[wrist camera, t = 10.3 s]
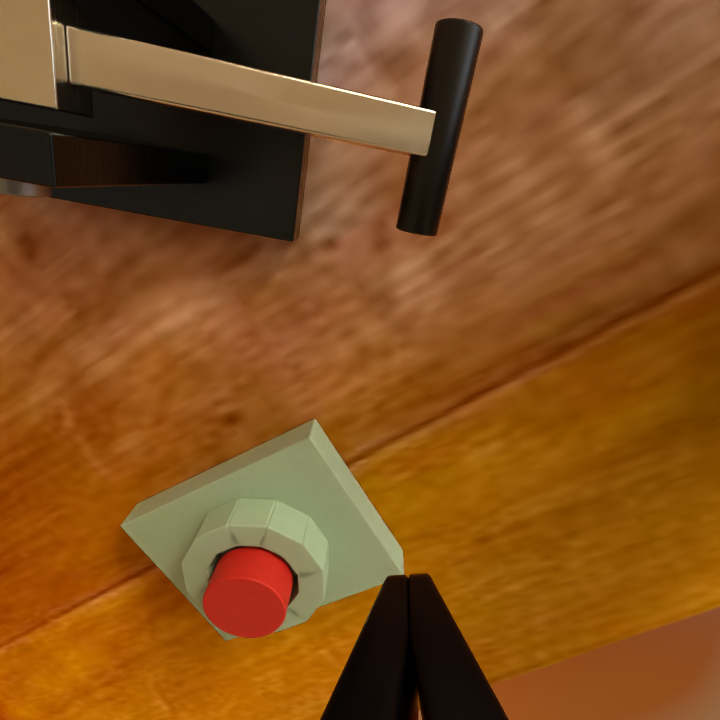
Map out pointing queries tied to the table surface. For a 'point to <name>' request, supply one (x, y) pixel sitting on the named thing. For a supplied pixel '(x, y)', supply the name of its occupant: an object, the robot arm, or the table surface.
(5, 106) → the bracket
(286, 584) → the button
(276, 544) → the button box
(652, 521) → the table surface
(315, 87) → the lever
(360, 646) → the robot arm
